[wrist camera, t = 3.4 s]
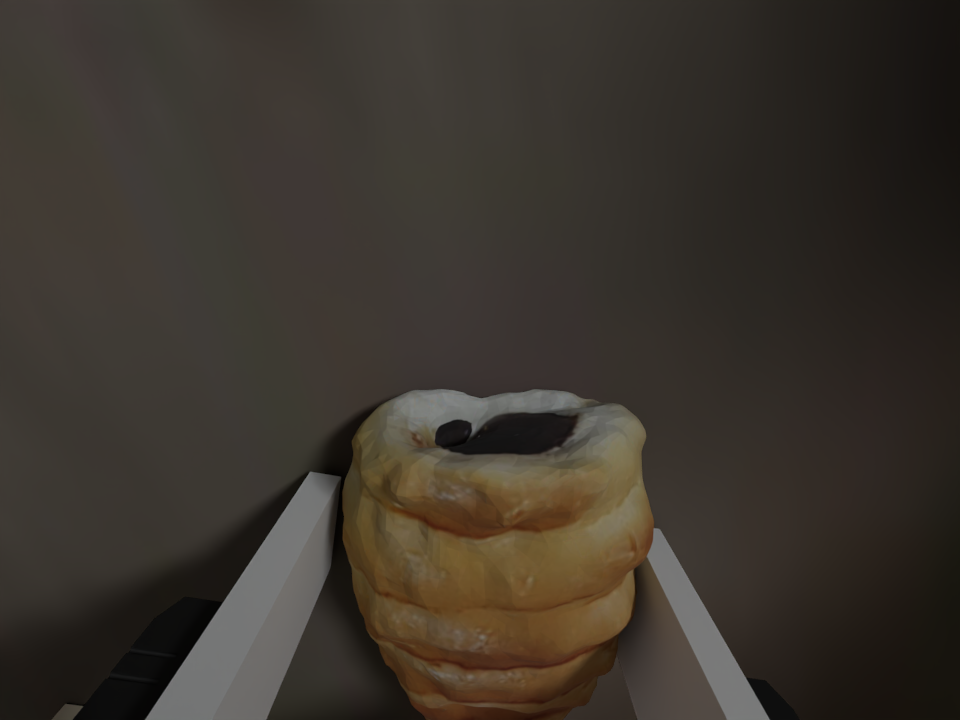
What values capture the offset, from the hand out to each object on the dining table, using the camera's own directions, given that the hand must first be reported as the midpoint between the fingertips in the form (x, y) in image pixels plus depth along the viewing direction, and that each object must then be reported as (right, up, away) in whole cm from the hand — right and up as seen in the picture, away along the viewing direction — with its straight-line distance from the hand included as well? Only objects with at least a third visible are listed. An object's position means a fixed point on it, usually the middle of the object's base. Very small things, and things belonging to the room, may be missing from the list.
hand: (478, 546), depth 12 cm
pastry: (+1, +1, +1) cm, 1 cm away
